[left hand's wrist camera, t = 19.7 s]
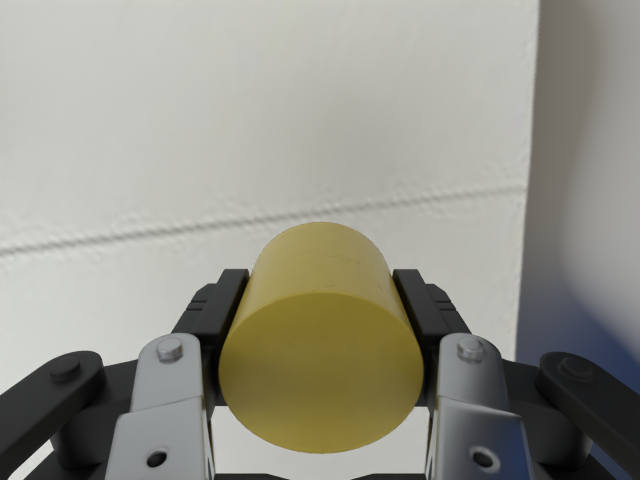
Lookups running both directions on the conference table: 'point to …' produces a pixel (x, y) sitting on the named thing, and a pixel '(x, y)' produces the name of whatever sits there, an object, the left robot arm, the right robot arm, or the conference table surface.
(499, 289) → the conference table surface
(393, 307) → the canister
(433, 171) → the conference table surface
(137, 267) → the conference table surface
